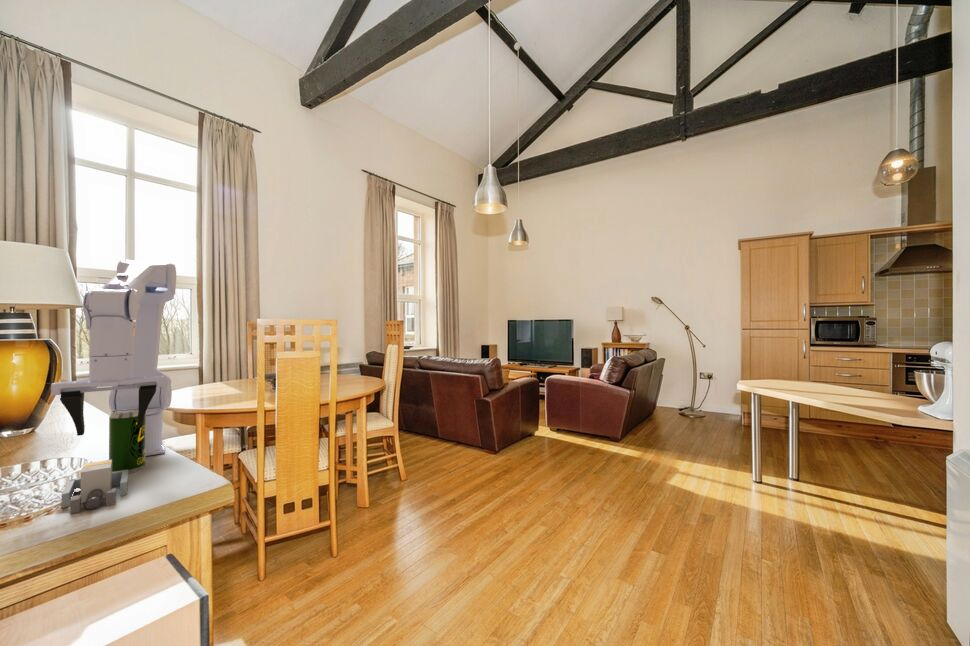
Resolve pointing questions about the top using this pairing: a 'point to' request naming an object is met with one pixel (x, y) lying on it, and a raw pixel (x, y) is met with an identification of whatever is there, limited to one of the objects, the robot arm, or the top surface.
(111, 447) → the beer can
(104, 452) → the top surface
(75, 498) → the grey holder frame
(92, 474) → the connector
